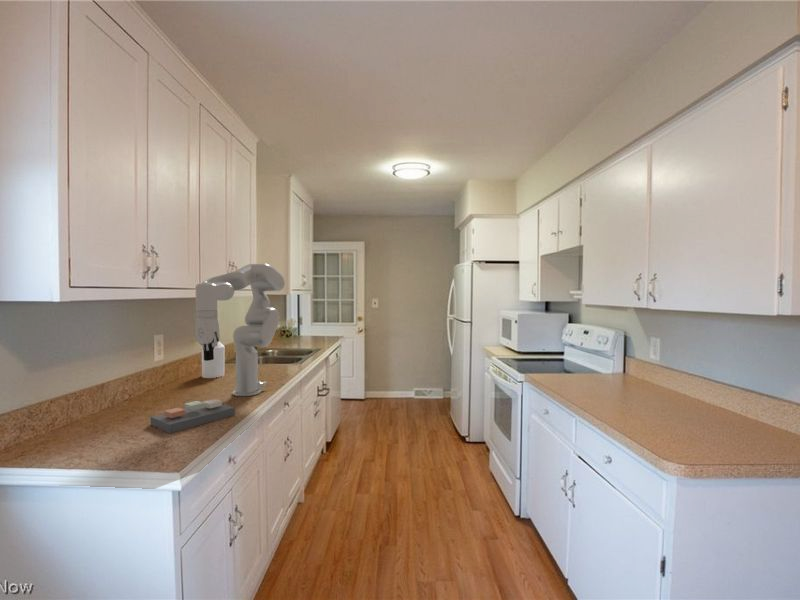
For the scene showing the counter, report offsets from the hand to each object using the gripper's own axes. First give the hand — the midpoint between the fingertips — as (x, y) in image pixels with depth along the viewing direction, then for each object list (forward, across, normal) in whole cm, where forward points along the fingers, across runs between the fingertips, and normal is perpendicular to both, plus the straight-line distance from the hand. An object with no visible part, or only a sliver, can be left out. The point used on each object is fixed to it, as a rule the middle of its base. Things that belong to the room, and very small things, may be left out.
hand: (208, 359), depth 159 cm
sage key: (+15, +7, -11) cm, 20 cm away
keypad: (+20, +7, -11) cm, 24 cm away
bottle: (+23, -57, +37) cm, 72 cm away
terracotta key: (+16, +7, -18) cm, 25 cm away
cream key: (+17, +7, -4) cm, 18 cm away
